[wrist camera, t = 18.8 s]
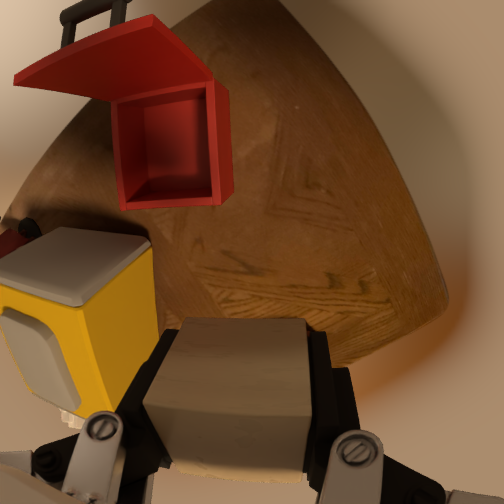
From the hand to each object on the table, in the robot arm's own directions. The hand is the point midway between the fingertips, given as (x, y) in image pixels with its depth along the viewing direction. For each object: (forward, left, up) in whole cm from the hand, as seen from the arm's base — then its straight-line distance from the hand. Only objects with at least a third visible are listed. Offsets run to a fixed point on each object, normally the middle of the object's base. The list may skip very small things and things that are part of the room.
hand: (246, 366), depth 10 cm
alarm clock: (+23, -11, -25) cm, 36 cm away
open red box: (0, -12, -25) cm, 28 cm away
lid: (-5, -16, -11) cm, 20 cm away
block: (0, 0, 0) cm, 0 cm away
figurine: (+26, -29, -25) cm, 46 cm away
